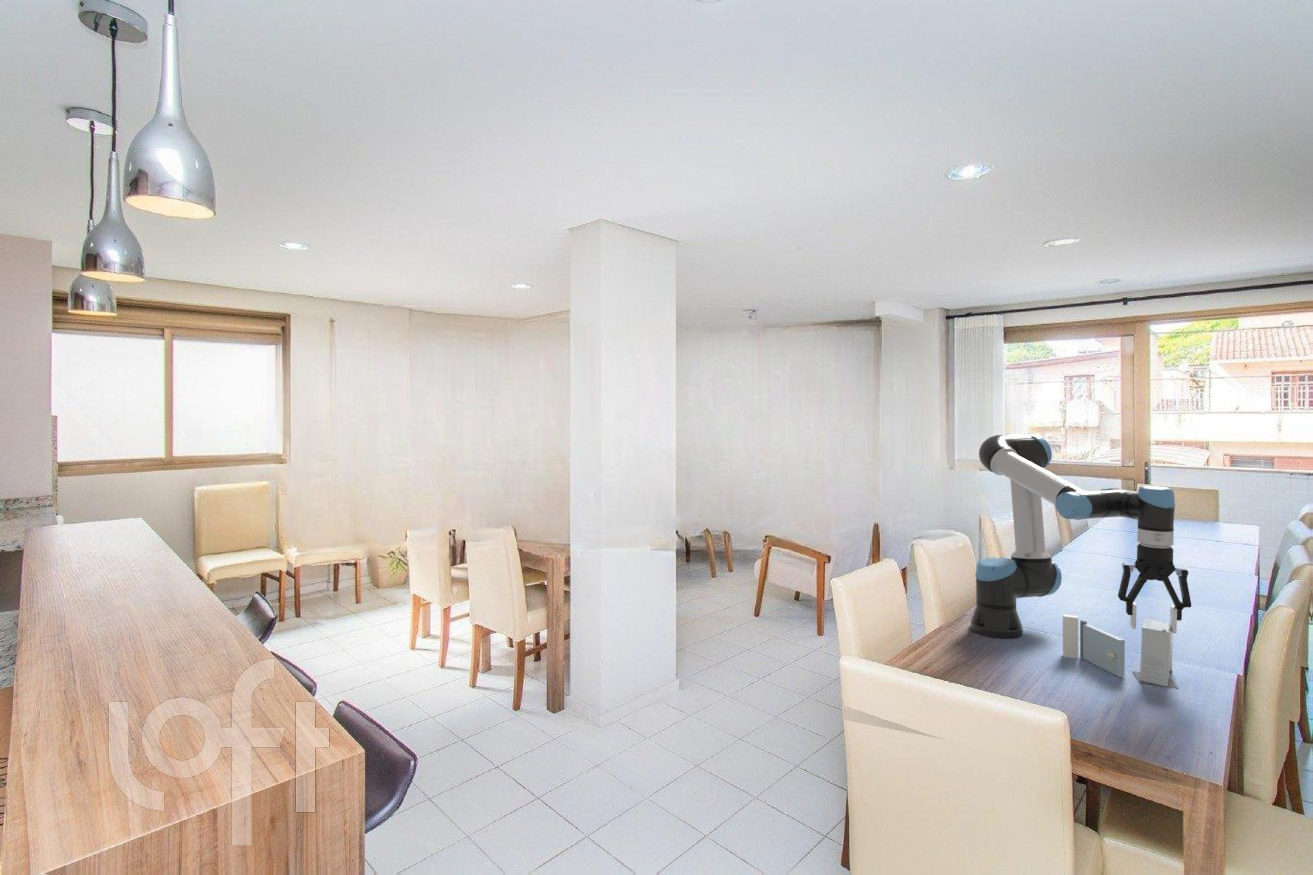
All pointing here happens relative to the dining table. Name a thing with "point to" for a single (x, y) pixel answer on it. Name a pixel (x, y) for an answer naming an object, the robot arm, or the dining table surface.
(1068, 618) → the wall
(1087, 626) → the door
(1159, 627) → the skincare box
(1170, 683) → the mat
